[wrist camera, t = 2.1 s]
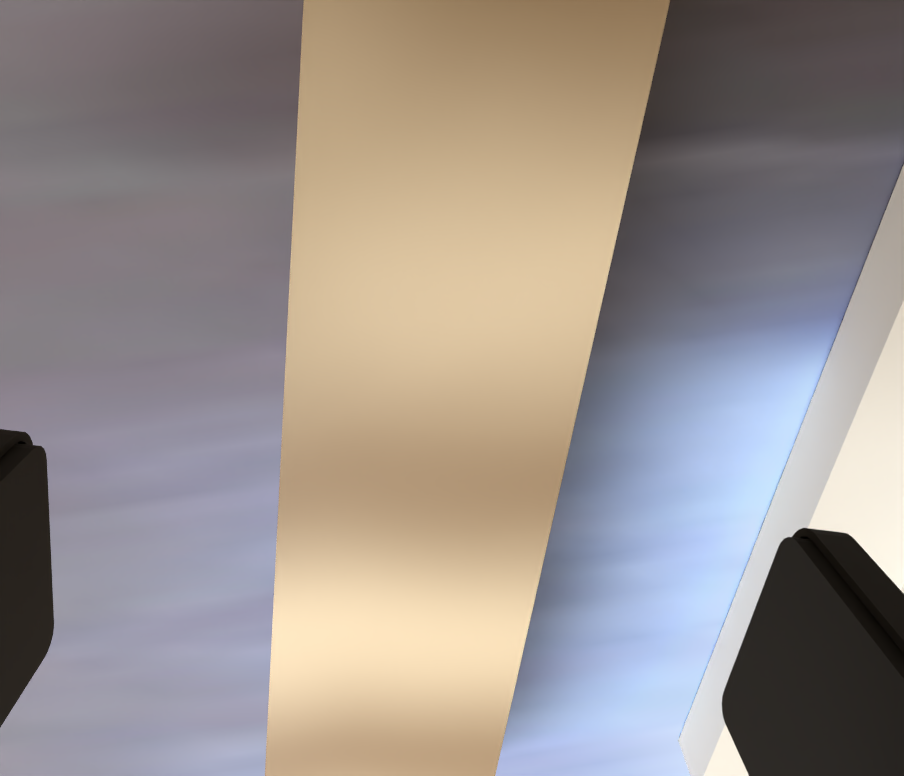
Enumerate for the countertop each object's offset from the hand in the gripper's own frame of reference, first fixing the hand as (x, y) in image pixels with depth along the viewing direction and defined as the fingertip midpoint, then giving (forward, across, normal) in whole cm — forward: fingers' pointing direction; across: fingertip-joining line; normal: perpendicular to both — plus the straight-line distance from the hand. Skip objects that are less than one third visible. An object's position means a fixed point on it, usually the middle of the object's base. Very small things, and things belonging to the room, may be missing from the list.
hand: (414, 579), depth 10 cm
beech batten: (+6, 0, -1) cm, 7 cm away
